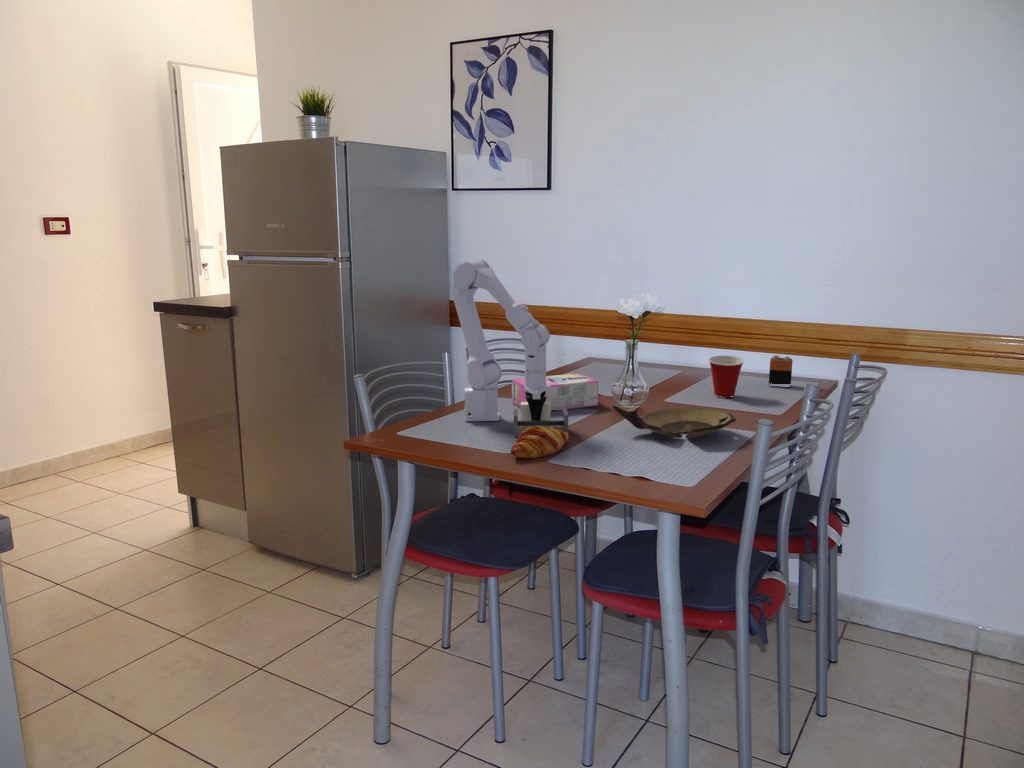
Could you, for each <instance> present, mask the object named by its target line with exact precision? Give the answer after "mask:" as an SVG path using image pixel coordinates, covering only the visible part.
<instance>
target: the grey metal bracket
mask: <svg viewBox="0 0 1024 768" xmlns="http://www.w3.org/2000/svg"><path fill="white" fill-rule="evenodd" d="M518 412H519V411H518V408H517V409H515V408H514V409H513V437H514V438H519V437H518V436H520V434H521V433H522V432H523V431H524V430H526V429H527V428H529V427H533V426H542V427H551V428H554V429H556V430H557V429H560V430H562V431H563V432H564V433H565V432H567V433H568V434H569V413H568V409H563V410H562V419H553V420H552V419H551V420H522V421H521V420H519V413H518Z"/></svg>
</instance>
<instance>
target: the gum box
mask: <svg viewBox="0 0 1024 768" xmlns="http://www.w3.org/2000/svg"><path fill="white" fill-rule="evenodd" d="M546 385H550V387H551V388H550V389H547V390H545V392H546V394H545V396H546V397H547V398H546V401H545V402H550V404H551V410H556V411H561V410H562V411H563V409H567V410H572V409H579V408H580V409H582V408H588V407H598V406H599V380H596V379H594V378H592V377H589V376H586V375H584V374H581V373H577V372H576V373H567V374H557V375H546ZM524 386H525V377H519V378H518V377H516V378H512V379H511V397H512V398H511V399H512V403H513V405H515V406H517V407H518V408H520V409H521V402H527V400H526V397H525V396H526V394H525V392H526V390H525V389H524Z"/></svg>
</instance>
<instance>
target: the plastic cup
mask: <svg viewBox="0 0 1024 768" xmlns="http://www.w3.org/2000/svg"><path fill="white" fill-rule="evenodd" d="M708 362H709V366H710V369H711V376H712V377H711V378H712V385H713V392H714V396H715V395H717V396H722V397H730V396H734V397H735V394H736V389H737V386H738V381H739V376H740V372H741V370H742V367H743V364H744V363H745V359H744V358H742V357H739V356H734V355H713V356H710V357H709V358H708Z"/></svg>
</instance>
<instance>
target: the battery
mask: <svg viewBox="0 0 1024 768" xmlns="http://www.w3.org/2000/svg"><path fill="white" fill-rule="evenodd" d="M792 373H793V358H791V357H790V356H784V357H780V355H773V356H772V357H771V358H770V360H769V372H768V384H769V383H770V384H771V383H772V384H791V385H792V376H793V375H792Z"/></svg>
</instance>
